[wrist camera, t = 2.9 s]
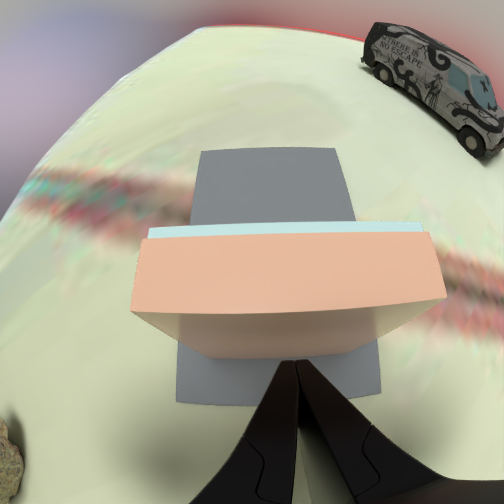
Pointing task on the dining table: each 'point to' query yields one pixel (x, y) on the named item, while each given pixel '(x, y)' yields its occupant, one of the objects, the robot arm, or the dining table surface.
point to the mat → (269, 211)
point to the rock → (9, 466)
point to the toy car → (438, 83)
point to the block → (285, 285)
